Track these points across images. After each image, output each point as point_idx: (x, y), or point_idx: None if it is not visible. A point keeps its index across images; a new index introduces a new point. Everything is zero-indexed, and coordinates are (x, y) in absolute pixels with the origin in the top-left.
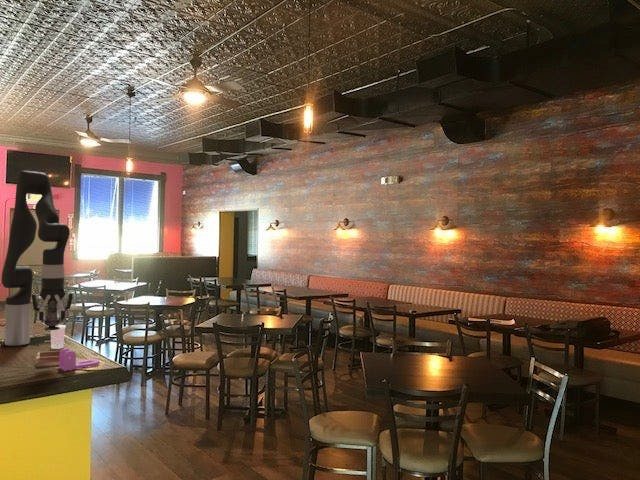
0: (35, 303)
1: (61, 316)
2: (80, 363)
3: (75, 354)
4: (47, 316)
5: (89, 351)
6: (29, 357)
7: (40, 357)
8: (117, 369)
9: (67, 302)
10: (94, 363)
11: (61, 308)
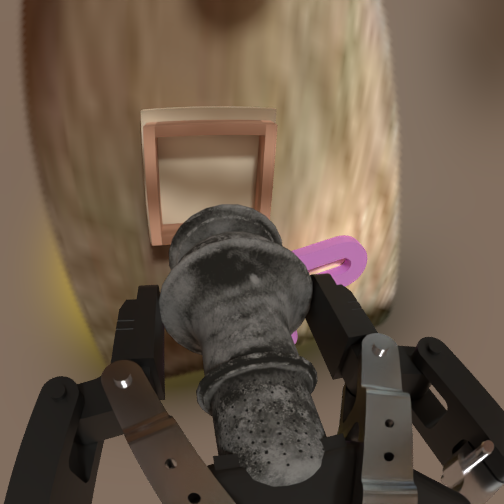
0: (82, 490)
1: (320, 340)
2: (308, 267)
3: (296, 335)
4: (199, 344)
5: (380, 44)
6: (112, 54)
7: (164, 238)
8: (376, 319)
9: (448, 394)
10: (344, 285)
11: (346, 405)
